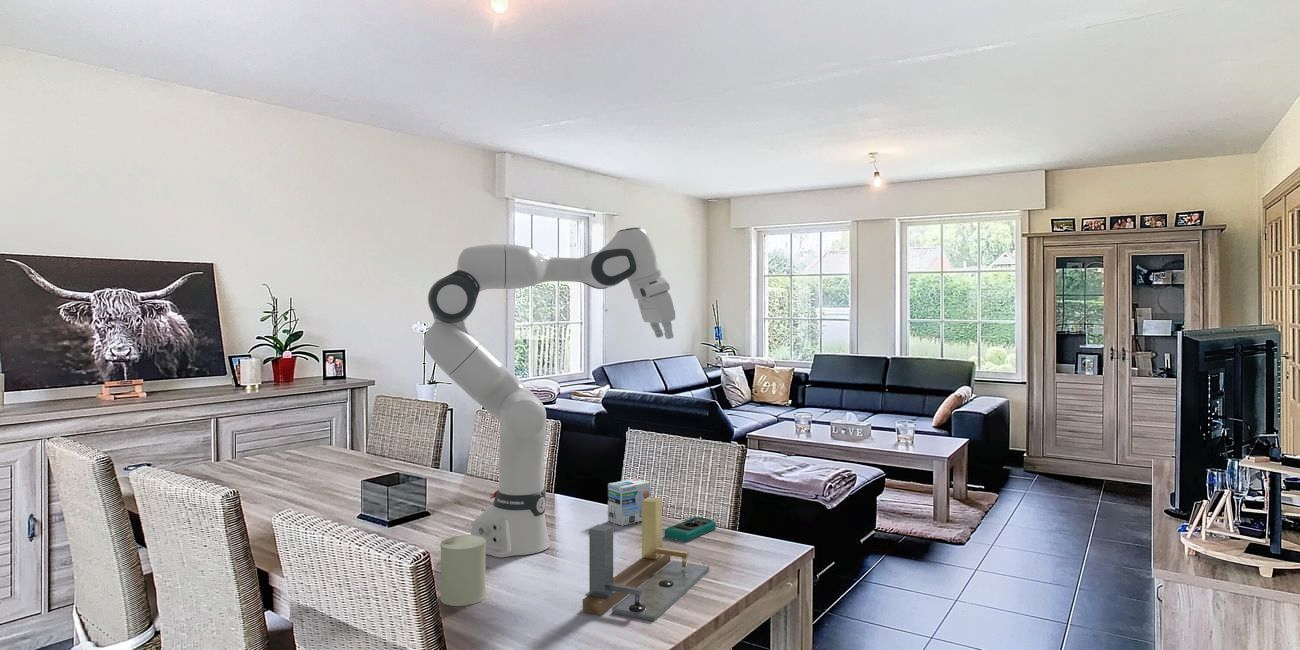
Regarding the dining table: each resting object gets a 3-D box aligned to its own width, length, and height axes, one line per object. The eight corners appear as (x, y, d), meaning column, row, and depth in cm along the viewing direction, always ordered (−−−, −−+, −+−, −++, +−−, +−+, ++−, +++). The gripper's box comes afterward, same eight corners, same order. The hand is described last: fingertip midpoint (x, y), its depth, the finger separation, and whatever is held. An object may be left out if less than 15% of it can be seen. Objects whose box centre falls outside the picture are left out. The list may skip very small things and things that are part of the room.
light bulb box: (621, 526, 201) (621, 487, 200) (606, 521, 206) (606, 483, 205) (651, 519, 208) (651, 481, 207) (635, 514, 213) (635, 477, 213)
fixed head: (585, 600, 146) (585, 529, 145) (596, 592, 150) (596, 523, 149) (635, 610, 141) (635, 536, 141) (645, 601, 145) (645, 530, 145)
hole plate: (612, 613, 143) (612, 607, 143) (672, 564, 171) (672, 559, 171) (654, 621, 140) (654, 615, 140) (709, 570, 167) (709, 565, 167)
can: (445, 589, 156) (444, 533, 155) (489, 588, 156) (489, 532, 156) (436, 607, 146) (435, 547, 146) (483, 605, 147) (482, 546, 147)
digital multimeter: (717, 530, 199) (717, 519, 199) (686, 544, 187) (686, 532, 187) (694, 525, 203) (694, 515, 203) (663, 538, 192) (663, 527, 192)
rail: (582, 612, 144) (582, 599, 144) (655, 558, 175) (655, 548, 175) (600, 615, 142) (600, 602, 142) (670, 561, 173) (670, 550, 173)
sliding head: (641, 562, 168) (641, 500, 167) (648, 557, 171) (648, 497, 170) (684, 569, 163) (684, 505, 163) (690, 564, 166) (690, 502, 166)
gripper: (628, 292, 200) (644, 340, 202) (647, 290, 180) (664, 343, 182) (649, 285, 202) (664, 332, 203) (670, 282, 182) (687, 334, 183)
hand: (665, 337), depth 192 cm, fingers open, 8 cm apart
